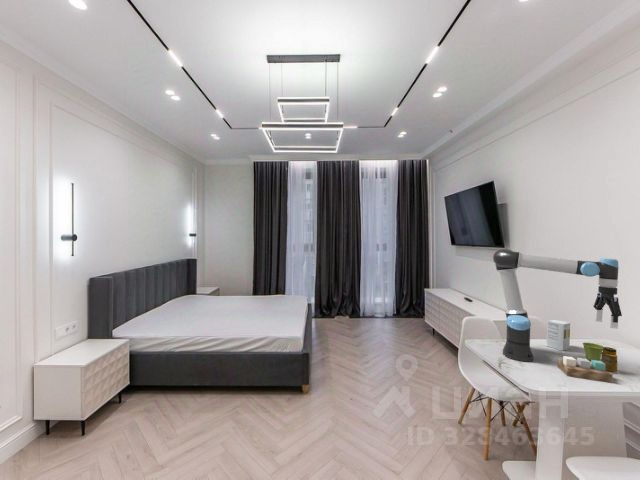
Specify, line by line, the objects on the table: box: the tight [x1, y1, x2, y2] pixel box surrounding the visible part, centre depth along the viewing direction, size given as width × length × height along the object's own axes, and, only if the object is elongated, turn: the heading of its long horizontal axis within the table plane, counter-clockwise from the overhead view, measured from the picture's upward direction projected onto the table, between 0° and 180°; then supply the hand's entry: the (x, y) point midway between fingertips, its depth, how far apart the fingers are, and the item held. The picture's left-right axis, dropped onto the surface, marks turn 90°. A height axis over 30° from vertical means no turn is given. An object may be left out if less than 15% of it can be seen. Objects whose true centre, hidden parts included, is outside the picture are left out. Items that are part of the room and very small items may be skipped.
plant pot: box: [581, 342, 604, 361], centre depth 172 cm, size 9×9×9 cm
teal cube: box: [590, 360, 605, 371], centre depth 150 cm, size 4×4×4 cm
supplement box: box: [546, 319, 571, 352], centre depth 192 cm, size 10×9×17 cm
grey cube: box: [576, 357, 591, 369], centre depth 152 cm, size 4×4×4 cm
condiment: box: [600, 346, 622, 375], centre depth 158 cm, size 7×8×12 cm
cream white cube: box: [562, 355, 577, 367], centre depth 155 cm, size 4×4×4 cm
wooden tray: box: [557, 359, 613, 384], centre depth 152 cm, size 18×12×4 cm, turn 70°
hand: (606, 324), depth 162 cm, fingers open, 13 cm apart
